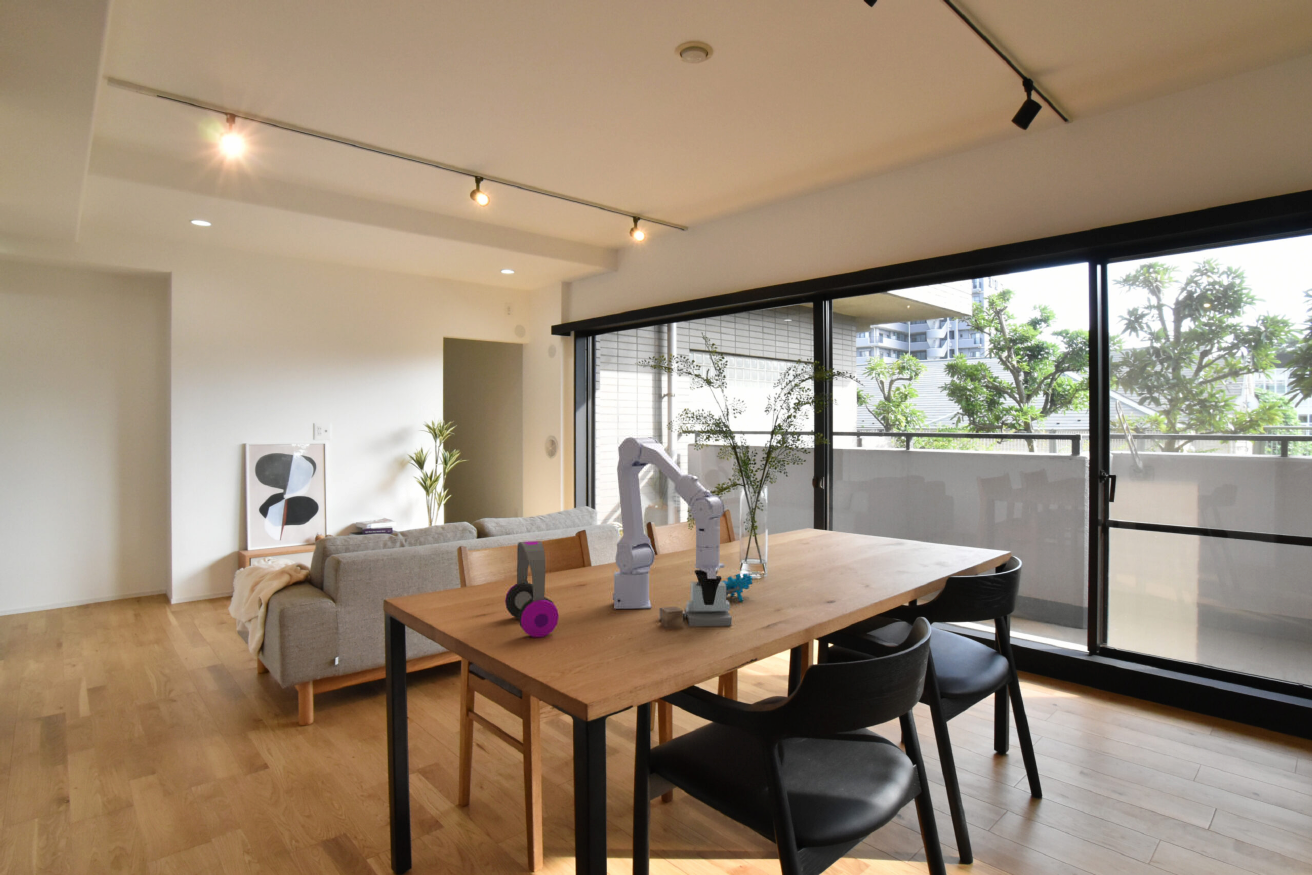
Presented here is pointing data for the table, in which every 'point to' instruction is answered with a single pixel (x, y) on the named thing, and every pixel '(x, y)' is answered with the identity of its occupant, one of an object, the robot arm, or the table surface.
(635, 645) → the table surface
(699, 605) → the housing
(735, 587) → the blue bumpy figure
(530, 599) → the headphones
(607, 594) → the table surface
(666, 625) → the walnut block
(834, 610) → the table surface
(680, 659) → the table surface
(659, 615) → the bolt
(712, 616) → the stand
